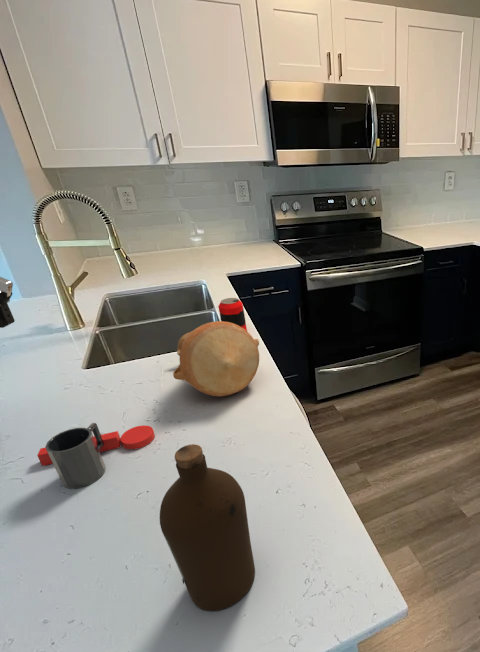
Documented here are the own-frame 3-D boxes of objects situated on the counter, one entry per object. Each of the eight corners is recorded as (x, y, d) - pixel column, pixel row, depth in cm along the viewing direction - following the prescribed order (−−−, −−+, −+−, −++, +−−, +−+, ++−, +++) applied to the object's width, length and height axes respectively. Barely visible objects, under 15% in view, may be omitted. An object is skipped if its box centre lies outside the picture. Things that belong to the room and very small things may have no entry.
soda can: (243, 338, 139) (237, 305, 133) (220, 339, 139) (214, 305, 133) (250, 329, 145) (244, 296, 140) (228, 329, 145) (222, 296, 140)
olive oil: (261, 544, 69) (237, 421, 57) (257, 608, 60) (227, 476, 48) (193, 555, 67) (154, 431, 56) (177, 623, 58) (127, 490, 46)
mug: (91, 488, 80) (75, 452, 76) (54, 488, 80) (35, 452, 76) (122, 450, 89) (110, 416, 85) (89, 451, 89) (74, 416, 85)
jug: (172, 380, 92) (137, 349, 113) (236, 418, 105) (193, 384, 126) (229, 310, 97) (185, 293, 118) (284, 354, 110) (235, 332, 131)
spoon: (39, 472, 84) (34, 461, 82) (47, 453, 89) (42, 442, 88) (154, 444, 91) (151, 434, 90) (155, 428, 96) (152, 418, 95)
